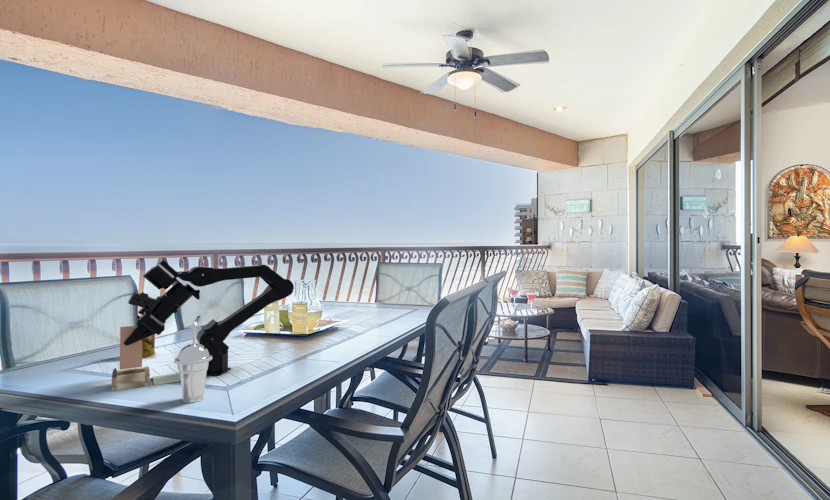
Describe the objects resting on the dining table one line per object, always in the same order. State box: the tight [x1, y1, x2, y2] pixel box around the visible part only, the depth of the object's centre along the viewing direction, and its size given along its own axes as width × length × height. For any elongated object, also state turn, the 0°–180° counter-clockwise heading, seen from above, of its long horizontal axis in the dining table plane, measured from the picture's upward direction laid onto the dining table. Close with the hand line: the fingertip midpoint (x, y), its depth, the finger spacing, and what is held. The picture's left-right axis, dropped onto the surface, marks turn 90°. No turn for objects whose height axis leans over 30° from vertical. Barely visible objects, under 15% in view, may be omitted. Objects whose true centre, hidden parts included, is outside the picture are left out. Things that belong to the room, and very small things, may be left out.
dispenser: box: [111, 366, 151, 392], centre depth 115 cm, size 8×7×4 cm
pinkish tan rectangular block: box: [119, 325, 143, 370], centre depth 115 cm, size 5×3×11 cm, turn 125°
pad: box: [152, 372, 181, 386], centre depth 120 cm, size 8×8×1 cm
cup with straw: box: [173, 315, 213, 404], centre depth 105 cm, size 8×9×20 cm
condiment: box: [142, 334, 157, 360], centre depth 145 cm, size 7×8×12 cm
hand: (125, 343), depth 115 cm, fingers closed on pinkish tan rectangular block, 3 cm apart
